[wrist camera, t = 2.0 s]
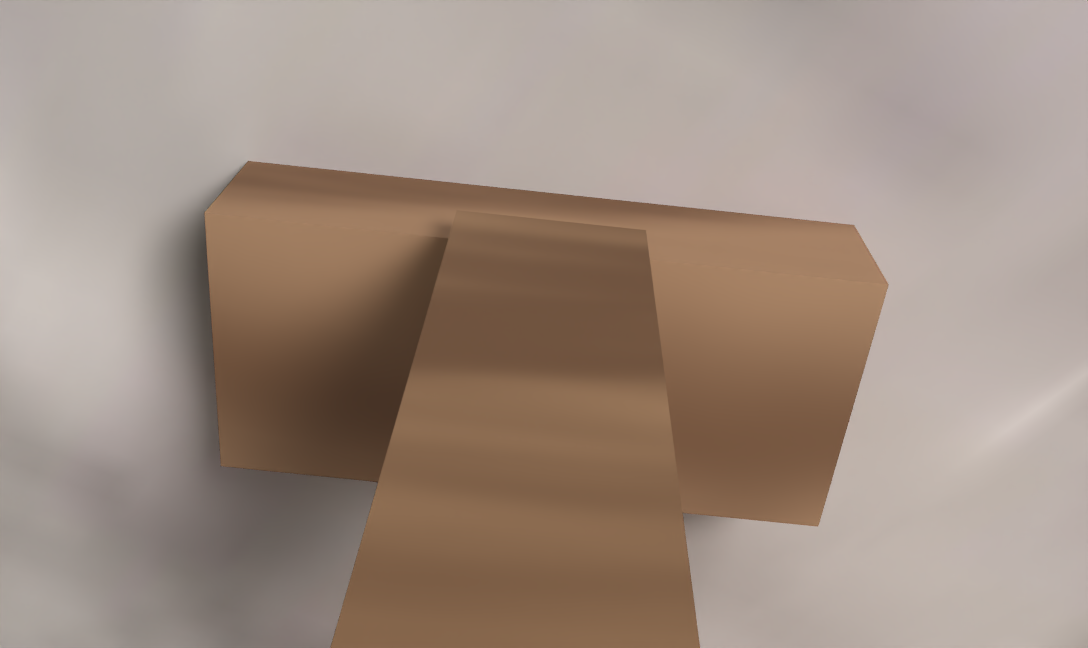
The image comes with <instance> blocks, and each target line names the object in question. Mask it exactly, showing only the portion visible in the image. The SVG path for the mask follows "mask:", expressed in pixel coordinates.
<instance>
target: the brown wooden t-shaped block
mask: <svg viewBox="0 0 1088 648" xmlns="http://www.w3.org/2000/svg"><path fill="white" fill-rule="evenodd" d="M204 215H205V230H206V246H207V261H208V276H209V292H210V307H211V322H212V338H213V353H214V368H215V384H216V399H217V414H218V430H219V445H220V460H221V466H225V467H235V468H245V469H255V470H264V471H274V472H284V473H294V474H304V475H314V476H324V477H334V478H344V479H354V480H363V481H373V482H378V485H377V488H376V491H375V495H374V498H373V502H372V505H371V509H370V512H369V516H368V519H367V523H366V526H365V530H364V533H363V537H362V540H361V543H360V547H359V550H358V554H357V557H356V561H355V564H354V568H353V571H352V575H351V578H350V582H349V585H348V589H347V592H346V595H345V599H344V602H343V606H342V609H341V613H340V616H339V620H338V623H337V627H336V630H335V634H334V637H333V641H332V644H331V647H330V648H700V644H699V637H698V629H697V621H696V613H695V606H694V598H693V590H692V582H691V575H690V567H689V559H688V551H687V544H686V536H685V528H684V520H683V513H690V514H700V515H710V516H720V517H730V518H739V519H749V520H759V521H769V522H779V523H789V524H799V525H809V526H818V525H819V522H820V518H821V515H822V512H823V508H824V505H825V501H826V498H827V494H828V491H829V488H830V484H831V481H832V477H833V474H834V470H835V467H836V463H837V460H838V457H839V453H840V450H841V446H842V443H843V439H844V436H845V433H846V429H847V426H848V422H849V419H850V415H851V412H852V408H853V405H854V402H855V398H856V395H857V391H858V388H859V384H860V381H861V378H862V374H863V371H864V367H865V364H866V360H867V357H868V353H869V350H870V347H871V343H872V340H873V336H874V333H875V329H876V326H877V323H878V319H879V316H880V312H881V309H882V305H883V302H884V298H885V295H886V292H887V288H888V283H887V281H886V279H885V278H884V276H883V274H882V273H881V271H880V269H879V267H878V266H877V264H876V262H875V260H874V259H873V257H872V255H871V254H870V252H869V250H868V248H867V247H866V245H865V243H864V242H863V240H862V238H861V236H860V235H859V233H858V231H857V229H856V228H855V226H854V225H847V224H838V223H828V222H819V221H809V220H800V219H791V218H781V217H772V216H762V215H753V214H743V213H734V212H724V211H715V210H706V209H696V208H687V207H677V206H668V205H658V204H649V203H639V202H630V201H621V200H611V199H602V198H592V197H583V196H573V195H564V194H554V193H545V192H535V191H526V190H517V189H507V188H498V187H488V186H479V185H469V184H460V183H450V182H441V181H432V180H422V179H413V178H403V177H394V176H384V175H375V174H365V173H356V172H347V171H337V170H328V169H318V168H309V167H299V166H290V165H280V164H271V163H261V162H252V161H248V162H247V163H246V164H245V165H244V167H243V168H242V169H241V170H240V171H239V173H238V174H237V175H236V176H235V177H234V178H233V180H232V181H231V182H230V183H229V184H228V186H227V187H226V188H225V189H224V190H223V191H222V193H221V194H220V195H219V196H218V197H217V199H216V200H215V201H214V202H213V203H212V204H211V206H210V207H209V208H208V209H207V210H206V211H205V213H204Z"/></svg>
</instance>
